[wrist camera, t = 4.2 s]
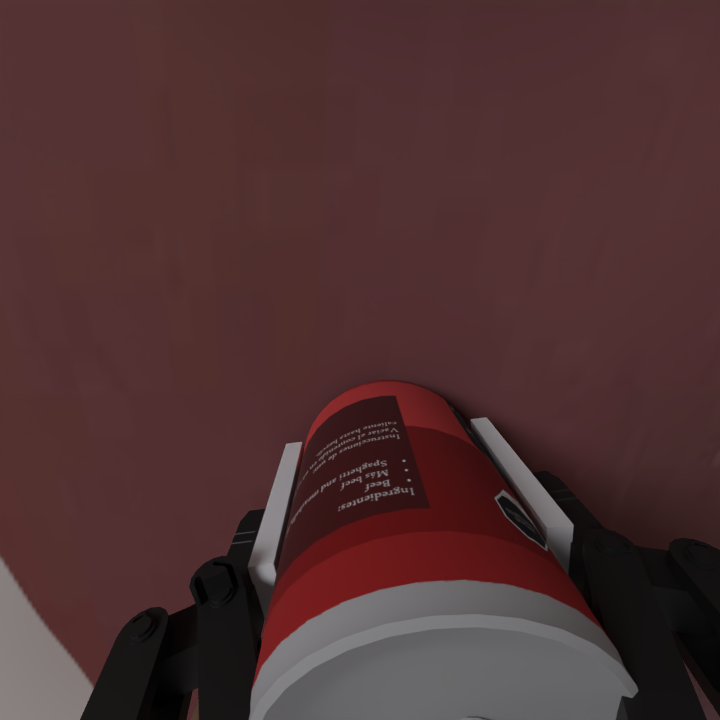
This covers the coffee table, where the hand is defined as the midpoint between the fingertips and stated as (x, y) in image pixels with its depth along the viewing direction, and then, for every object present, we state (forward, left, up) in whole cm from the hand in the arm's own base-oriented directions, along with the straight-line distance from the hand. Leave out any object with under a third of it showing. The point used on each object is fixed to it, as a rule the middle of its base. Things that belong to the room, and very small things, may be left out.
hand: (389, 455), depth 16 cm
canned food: (0, 0, -1) cm, 1 cm away
